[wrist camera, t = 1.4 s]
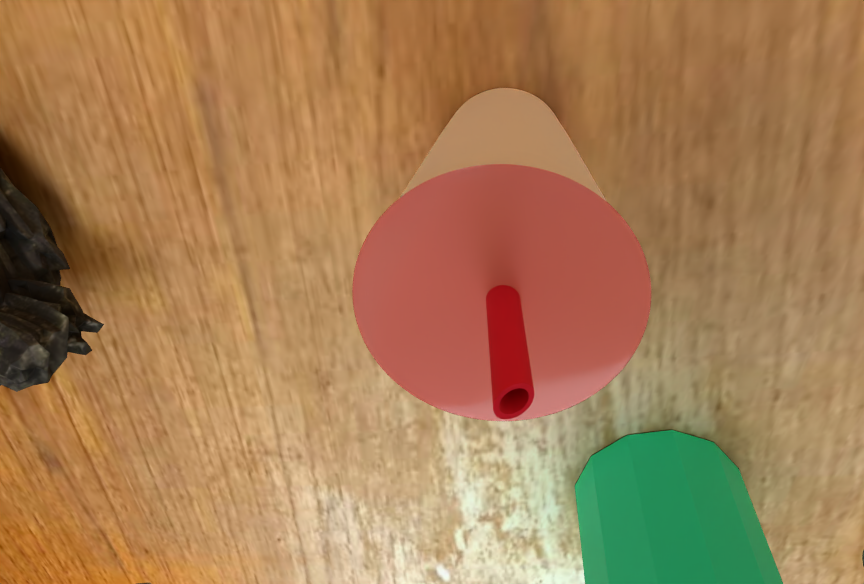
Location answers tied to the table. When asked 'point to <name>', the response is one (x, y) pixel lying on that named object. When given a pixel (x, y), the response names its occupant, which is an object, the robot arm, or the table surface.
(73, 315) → the mineral specimen
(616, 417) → the table surface
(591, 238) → the cup
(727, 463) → the candle
